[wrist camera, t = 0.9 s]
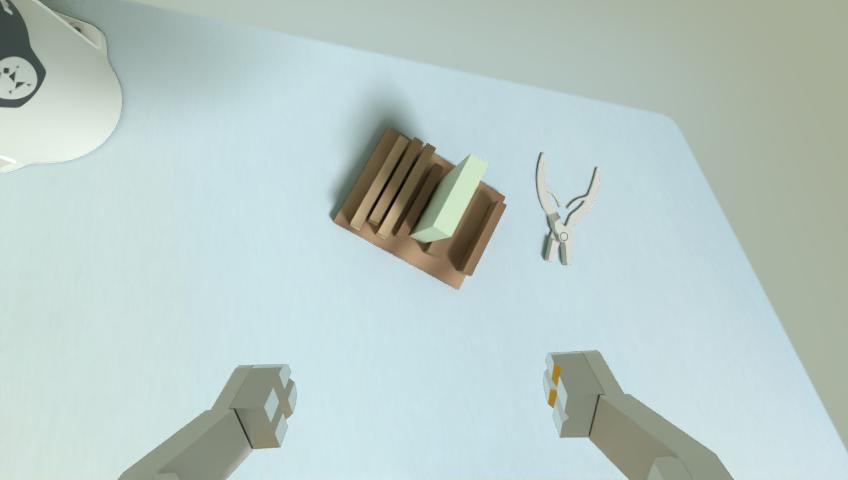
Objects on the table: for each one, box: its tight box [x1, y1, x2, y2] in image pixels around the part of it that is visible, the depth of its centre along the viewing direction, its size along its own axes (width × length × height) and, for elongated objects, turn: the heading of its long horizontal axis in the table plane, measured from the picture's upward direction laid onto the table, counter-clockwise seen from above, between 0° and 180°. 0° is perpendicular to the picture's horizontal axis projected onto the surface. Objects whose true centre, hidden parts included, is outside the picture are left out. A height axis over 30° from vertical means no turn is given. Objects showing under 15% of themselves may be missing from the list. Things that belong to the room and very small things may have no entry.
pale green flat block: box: [409, 153, 489, 243], centre depth 41 cm, size 2×8×13 cm, turn 153°
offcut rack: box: [333, 126, 507, 290], centre depth 45 cm, size 18×14×6 cm
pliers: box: [536, 153, 600, 265], centre depth 52 cm, size 10×2×15 cm
